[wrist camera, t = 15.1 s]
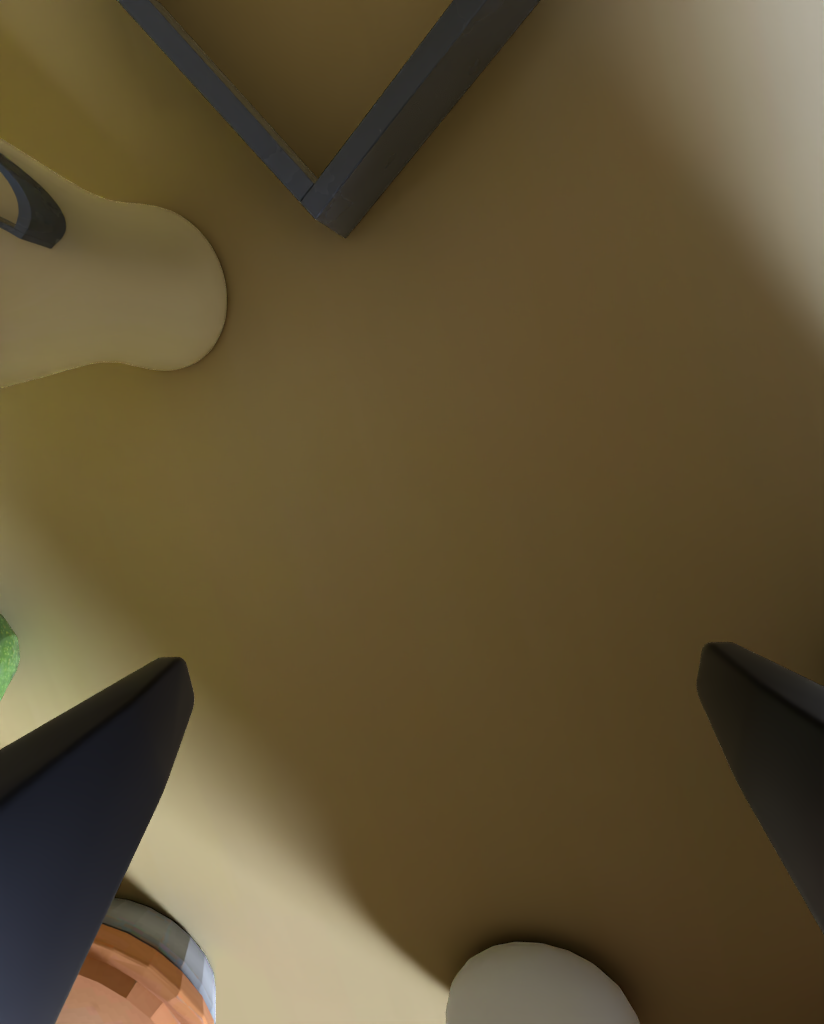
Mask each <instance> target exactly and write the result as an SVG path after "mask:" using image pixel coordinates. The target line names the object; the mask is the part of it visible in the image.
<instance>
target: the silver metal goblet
mask: <svg viewBox="0 0 824 1024" xmlns="http://www.w3.org/2000/svg"><path fill="white" fill-rule="evenodd" d="M226 311H227V290H226V283H225V278H224V274H223V271H222V268H221V265H220V262H219V260H218V258H217V256H216V254H215V252H214V250H213V248H212V246H211V245H210V243H209V242H208V241H207V239H206V238H205V237H204V235H203V234H202V233H201V232H200V231H199V230H198V229H197V228H196V227H195V226H194V225H193V224H191V223H190V222H189V221H188V220H186V219H185V218H183V217H182V216H180V215H179V214H177V213H175V212H173V211H170V210H168V209H165V208H162V207H158V206H153V205H147V204H138V203H127V202H118V201H112V200H108V199H105V198H102V197H99V196H97V195H95V194H93V193H90V192H88V191H86V190H84V189H82V188H81V187H79V186H77V185H76V184H74V183H72V182H71V181H69V180H67V179H65V178H64V177H62V176H60V175H59V174H57V173H56V172H54V171H53V170H51V169H49V168H48V167H46V166H45V165H43V164H41V163H40V162H38V161H37V160H35V159H34V158H32V157H30V156H29V155H27V154H26V153H24V152H22V151H21V150H19V149H18V148H16V147H14V146H13V145H11V144H9V143H8V142H6V141H5V140H3V139H1V138H0V389H1V388H5V387H9V386H12V385H16V384H20V383H23V382H27V381H31V380H35V379H38V378H42V377H45V376H49V375H52V374H56V373H59V372H63V371H66V370H70V369H73V368H78V367H82V366H86V365H90V364H94V363H103V362H116V363H123V364H128V365H132V366H137V367H141V368H146V369H151V370H159V371H172V370H178V369H182V368H185V367H188V366H191V365H193V364H195V363H196V362H198V361H199V360H201V359H202V358H203V357H205V356H206V355H207V354H208V353H209V352H210V350H211V349H212V348H213V347H214V345H215V344H216V342H217V340H218V338H219V336H220V334H221V332H222V329H223V326H224V322H225V318H226Z"/></svg>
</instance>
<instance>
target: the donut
mask: <svg viewBox="0 0 824 1024" xmlns="http://www.w3.org/2000/svg"><path fill="white" fill-rule="evenodd" d="M446 1024H640V1023H639V1019H638V1017H637V1015H636V1013H635V1012H634V1010H633V1008H632V1007H631V1005H630V1003H629V1002H628V1000H627V998H626V997H625V995H624V994H623V992H622V990H621V989H620V987H619V986H618V985H617V984H616V983H615V982H614V981H612V980H611V979H610V978H609V977H608V976H607V975H606V974H605V973H603V972H602V971H601V970H600V969H599V968H598V967H597V966H595V965H594V964H593V963H591V962H589V961H587V960H585V959H584V958H582V957H580V956H578V955H576V954H574V953H572V952H570V951H568V950H565V949H561V948H557V947H554V946H550V945H547V944H543V943H530V942H511V943H506V944H501V945H495V946H492V947H490V948H488V949H486V950H484V951H483V952H481V953H479V954H477V955H475V956H473V957H472V958H470V959H469V960H468V961H467V962H466V964H465V965H464V966H463V967H462V969H461V970H460V971H459V972H458V974H457V975H456V977H455V978H454V980H453V981H452V984H451V988H450V992H449V998H448V1003H447V1008H446Z"/></svg>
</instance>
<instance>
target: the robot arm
mask: <svg viewBox="0 0 824 1024" xmlns="http://www.w3.org/2000/svg"><path fill="white" fill-rule="evenodd" d="M697 692H698V696H699V699H700V701H701V703H702V705H703V708H704V710H705V712H706V714H707V717H708V719H709V721H710V723H711V726H712V728H713V730H714V732H715V735H716V737H717V739H718V741H719V744H720V746H721V748H722V750H723V753H724V755H725V757H726V759H727V762H728V764H729V766H730V768H731V770H732V772H733V775H734V777H735V779H736V781H737V783H738V785H739V787H740V788H741V790H742V792H743V794H744V796H745V798H746V799H747V801H748V803H749V805H750V806H751V808H752V810H753V812H754V813H755V815H756V817H757V819H758V820H759V822H760V824H761V826H762V827H763V829H764V831H765V833H766V834H767V836H768V838H769V840H770V841H771V843H772V845H773V847H774V848H775V850H776V852H777V854H778V855H779V857H780V859H781V861H782V862H783V864H784V866H785V868H786V869H787V871H788V873H789V875H790V876H791V878H792V880H793V882H794V883H795V885H796V887H797V889H798V890H799V892H800V894H801V896H802V897H803V899H804V901H805V903H806V904H807V906H808V908H809V910H810V911H811V913H812V915H813V917H814V918H815V920H816V922H817V924H818V925H819V927H820V929H821V931H822V932H823V934H824V686H822V685H819V684H817V683H815V682H813V681H811V680H809V679H807V678H805V677H803V676H801V675H799V674H797V673H795V672H793V671H791V670H789V669H786V668H784V667H782V666H780V665H778V664H776V663H774V662H772V661H770V660H768V659H766V658H764V657H762V656H760V655H758V654H756V653H754V652H751V651H749V650H747V649H745V648H743V647H741V646H739V645H737V644H735V643H732V642H710V643H707V644H706V645H704V647H703V650H702V654H701V659H700V665H699V671H698V676H697ZM193 706H194V692H193V688H192V684H191V680H190V676H189V672H188V668H187V665H186V662H185V661H184V659H182V658H181V657H162V658H158V659H156V660H154V661H152V662H150V663H149V664H147V665H145V666H144V667H142V668H140V669H138V670H137V671H135V672H133V673H132V674H130V675H128V676H126V677H125V678H123V679H121V680H119V681H118V682H116V683H114V684H113V685H111V686H109V687H107V688H106V689H104V690H102V691H101V692H99V693H97V694H95V695H94V696H92V697H90V698H88V699H87V700H85V701H83V702H82V703H80V704H78V705H76V706H75V707H73V708H71V709H69V710H68V711H66V712H64V713H63V714H61V715H59V716H57V717H56V718H54V719H52V720H51V721H49V722H47V723H45V724H44V725H42V726H40V727H38V728H37V729H35V730H33V731H32V732H30V733H28V734H26V735H25V736H23V737H21V738H20V739H18V740H16V741H14V742H13V743H11V744H9V745H7V746H6V747H4V748H2V749H1V750H0V1024H55V1023H56V1021H57V1018H58V1016H59V1014H60V1012H61V1010H62V1008H63V1006H64V1004H65V1001H66V999H67V997H68V995H69V993H70V991H71V989H72V986H73V984H74V982H75V980H76V978H77V976H78V974H79V971H80V969H81V967H82V965H83V963H84V961H85V959H86V957H87V954H88V952H89V950H90V948H91V946H92V944H93V942H94V939H95V937H96V935H97V933H98V931H99V929H100V927H101V924H102V922H103V920H104V918H105V916H106V914H107V912H108V910H109V907H110V905H111V903H112V901H113V899H114V897H115V895H116V892H117V890H118V888H119V886H120V884H121V882H122V880H123V877H124V875H125V873H126V871H127V869H128V867H129V865H130V863H131V860H132V858H133V856H134V854H135V852H136V850H137V848H138V845H139V843H140V841H141V839H142V837H143V835H144V833H145V831H146V828H147V826H148V824H149V822H150V820H151V818H152V816H153V813H154V811H155V809H156V807H157V805H158V803H159V800H160V798H161V796H162V794H163V791H164V789H165V786H166V783H167V781H168V778H169V776H170V773H171V770H172V767H173V764H174V761H175V758H176V756H177V753H178V750H179V747H180V744H181V741H182V739H183V736H184V733H185V730H186V727H187V724H188V721H189V719H190V716H191V713H192V710H193Z"/></svg>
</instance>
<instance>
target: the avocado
mask: <svg viewBox="0 0 824 1024" xmlns="http://www.w3.org/2000/svg"><path fill="white" fill-rule="evenodd" d="M19 660H20V654H19V646H18V639H17V636H16V635H15V633H14V632H13V630H12V629H11V627H10V626H9V624H8V623H7V621H6V620H5V618H4V617H3V616H2V615H1V614H0V701H1V699H2V697H3V695H4V693H5V691H6V688H7V687H8V685H9V683H10V681H11V680H12V678H13V676H14V674H15V673H16V671H17V667H18V664H19Z"/></svg>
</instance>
